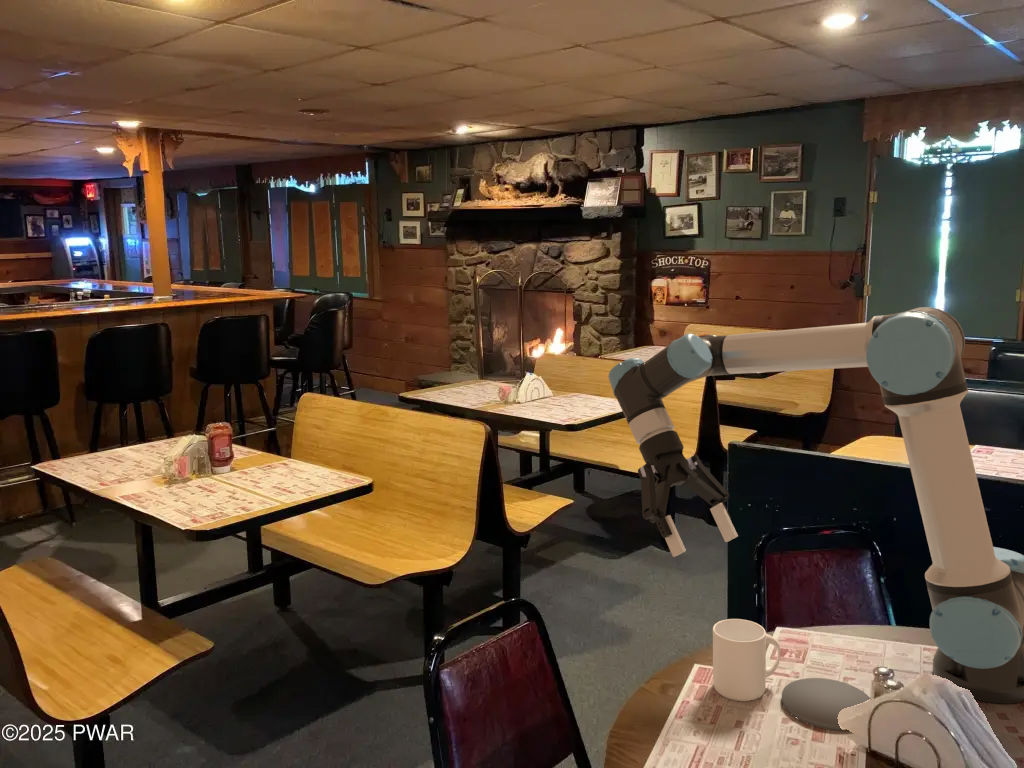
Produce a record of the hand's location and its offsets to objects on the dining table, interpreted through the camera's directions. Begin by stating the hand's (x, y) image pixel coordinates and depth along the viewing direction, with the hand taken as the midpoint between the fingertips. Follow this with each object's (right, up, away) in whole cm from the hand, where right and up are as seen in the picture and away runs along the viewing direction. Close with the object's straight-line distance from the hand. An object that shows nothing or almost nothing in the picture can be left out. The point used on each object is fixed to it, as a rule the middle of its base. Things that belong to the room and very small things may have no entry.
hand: (706, 546), depth 141 cm
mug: (+6, -24, -3) cm, 25 cm away
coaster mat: (+17, -24, -9) cm, 31 cm away
